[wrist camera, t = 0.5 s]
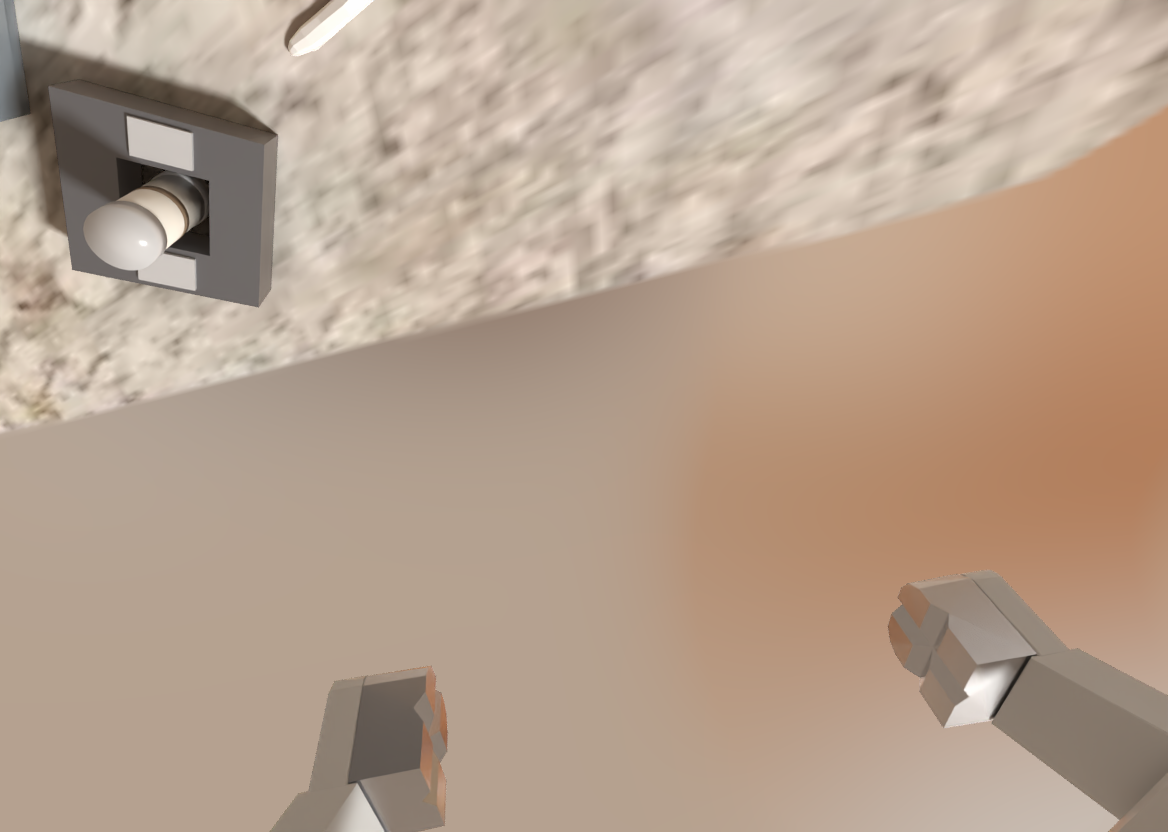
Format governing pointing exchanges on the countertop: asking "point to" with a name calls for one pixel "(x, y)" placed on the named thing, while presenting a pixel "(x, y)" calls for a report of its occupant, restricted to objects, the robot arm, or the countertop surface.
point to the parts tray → (11, 66)
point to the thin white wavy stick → (325, 25)
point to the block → (179, 144)
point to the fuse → (147, 220)
